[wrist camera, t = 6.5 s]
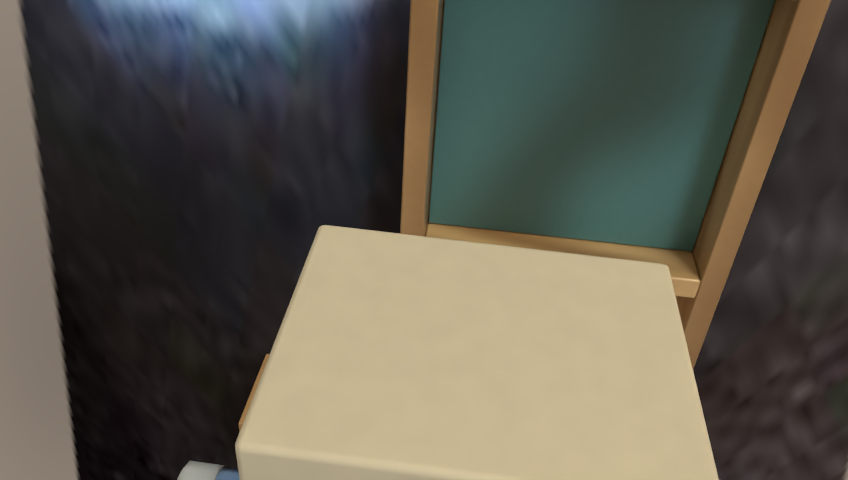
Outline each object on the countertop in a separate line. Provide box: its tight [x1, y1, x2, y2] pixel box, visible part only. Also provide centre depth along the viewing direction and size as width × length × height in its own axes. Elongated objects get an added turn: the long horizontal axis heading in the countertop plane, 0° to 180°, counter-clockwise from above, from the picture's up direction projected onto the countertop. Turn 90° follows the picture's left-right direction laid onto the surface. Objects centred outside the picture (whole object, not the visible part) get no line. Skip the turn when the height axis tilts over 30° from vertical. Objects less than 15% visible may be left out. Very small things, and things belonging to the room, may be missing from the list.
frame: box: [400, 0, 831, 369], centre depth 27 cm, size 11×21×2 cm, turn 177°
